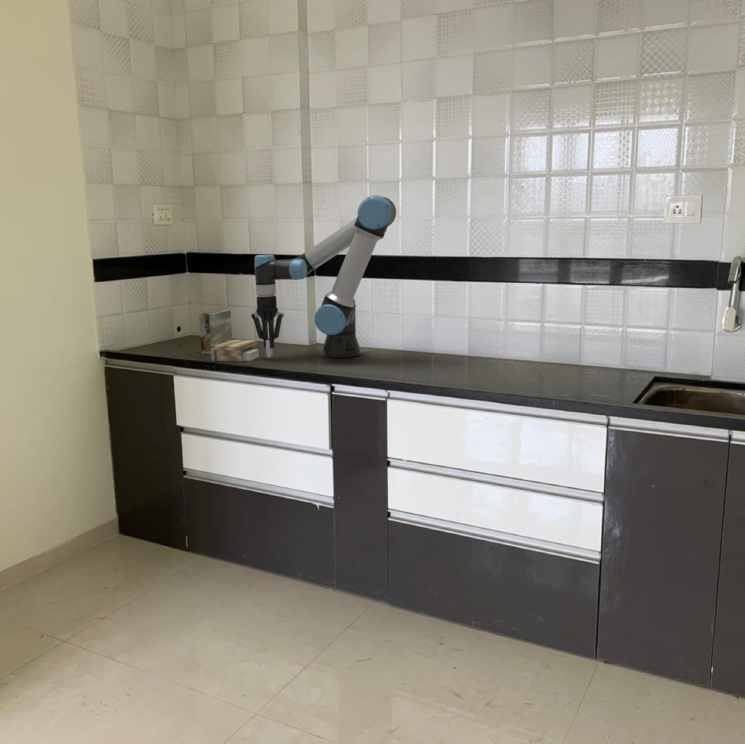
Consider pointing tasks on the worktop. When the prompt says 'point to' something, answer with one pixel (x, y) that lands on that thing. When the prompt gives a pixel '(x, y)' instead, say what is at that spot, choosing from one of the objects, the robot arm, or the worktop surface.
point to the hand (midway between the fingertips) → (269, 356)
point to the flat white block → (250, 354)
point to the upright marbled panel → (226, 339)
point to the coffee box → (205, 333)
